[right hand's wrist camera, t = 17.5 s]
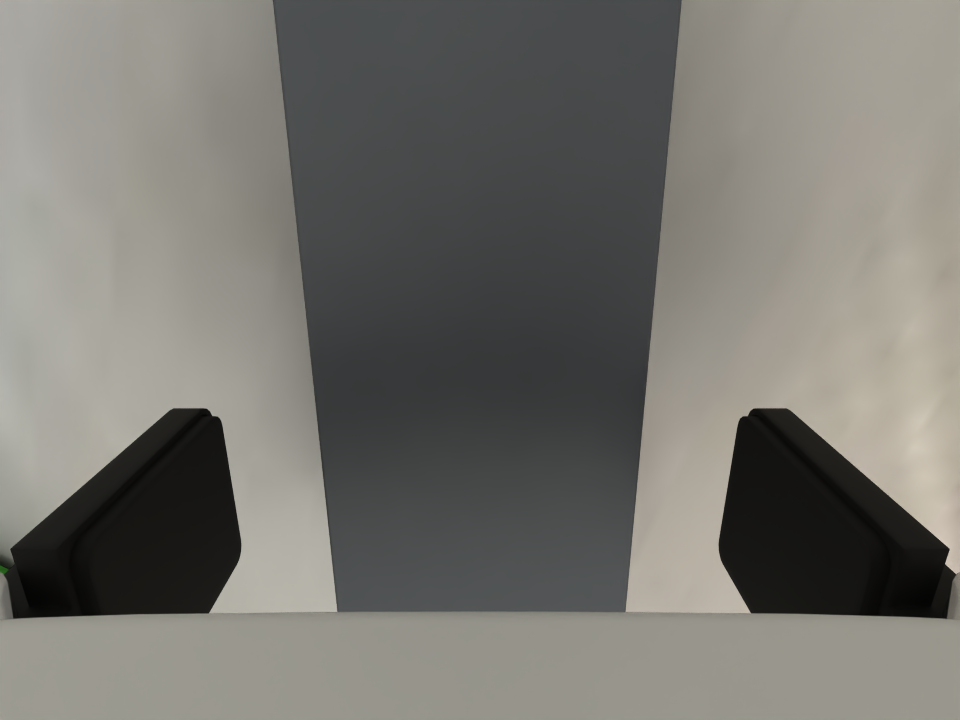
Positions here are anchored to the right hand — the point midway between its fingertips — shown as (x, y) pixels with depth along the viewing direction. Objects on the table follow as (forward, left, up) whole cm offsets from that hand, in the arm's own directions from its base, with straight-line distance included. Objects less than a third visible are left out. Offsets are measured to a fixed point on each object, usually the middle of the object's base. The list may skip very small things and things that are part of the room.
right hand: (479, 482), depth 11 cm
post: (-3, -31, -7) cm, 32 cm away
